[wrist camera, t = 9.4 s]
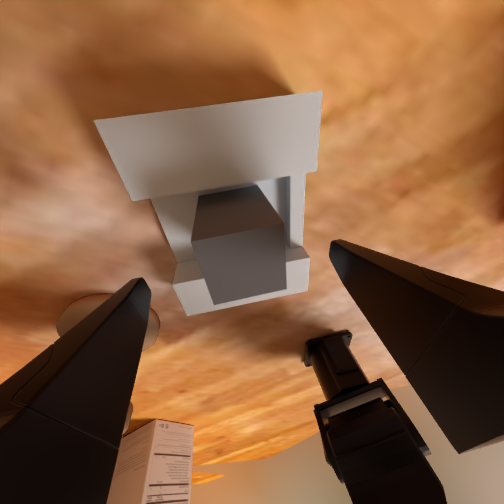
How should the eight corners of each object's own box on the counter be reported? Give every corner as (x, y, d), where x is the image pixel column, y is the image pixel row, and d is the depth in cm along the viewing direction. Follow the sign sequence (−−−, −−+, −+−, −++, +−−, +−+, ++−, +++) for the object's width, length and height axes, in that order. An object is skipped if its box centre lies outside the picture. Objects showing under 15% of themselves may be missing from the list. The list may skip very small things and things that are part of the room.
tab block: (263, 235, 15) (286, 289, 11) (213, 245, 15) (214, 305, 10) (257, 185, 13) (284, 223, 8) (198, 195, 13) (190, 241, 8)
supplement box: (162, 441, 39) (140, 589, 27) (120, 437, 34) (69, 614, 22) (196, 425, 37) (188, 576, 25) (156, 417, 32) (122, 600, 20)
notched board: (294, 267, 19) (307, 291, 16) (190, 288, 18) (187, 316, 15) (298, 97, 11) (322, 90, 9) (121, 120, 11) (93, 120, 8)
